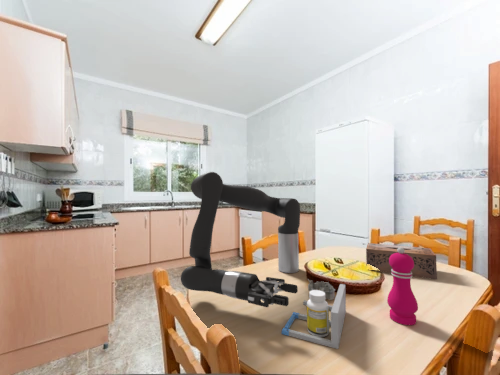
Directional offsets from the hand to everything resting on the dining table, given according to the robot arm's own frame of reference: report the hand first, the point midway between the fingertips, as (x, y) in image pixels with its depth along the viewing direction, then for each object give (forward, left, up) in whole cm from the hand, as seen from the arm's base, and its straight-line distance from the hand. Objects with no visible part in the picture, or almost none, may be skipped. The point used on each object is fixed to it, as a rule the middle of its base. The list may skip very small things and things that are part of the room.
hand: (292, 295), depth 64 cm
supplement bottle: (-1, +6, -8) cm, 10 cm away
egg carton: (-24, -1, -8) cm, 25 cm away
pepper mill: (-21, +23, -8) cm, 32 cm away
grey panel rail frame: (-5, +4, -8) cm, 11 cm away
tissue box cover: (-71, +18, -8) cm, 73 cm away
